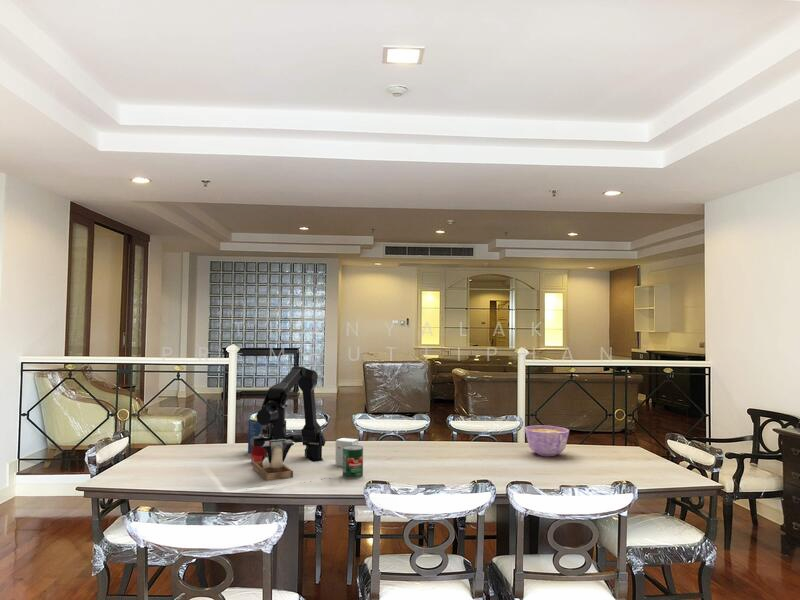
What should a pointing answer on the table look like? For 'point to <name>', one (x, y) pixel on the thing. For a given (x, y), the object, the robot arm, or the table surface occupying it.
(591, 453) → the table surface
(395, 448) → the table surface
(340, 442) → the small box
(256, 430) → the protein box
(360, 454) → the canned tomato
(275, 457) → the cylinder
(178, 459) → the table surface
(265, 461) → the ball
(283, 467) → the crate
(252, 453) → the canned food
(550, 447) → the bowl of food
